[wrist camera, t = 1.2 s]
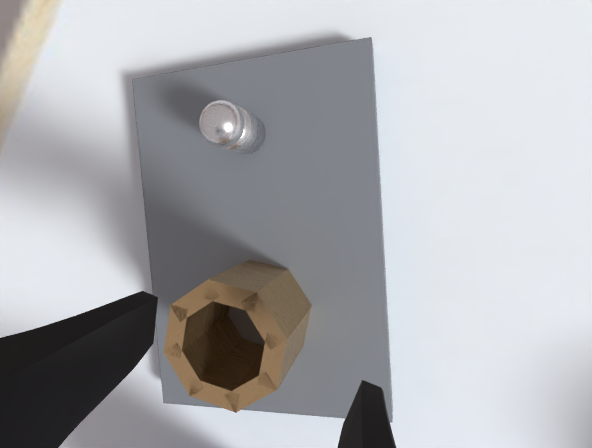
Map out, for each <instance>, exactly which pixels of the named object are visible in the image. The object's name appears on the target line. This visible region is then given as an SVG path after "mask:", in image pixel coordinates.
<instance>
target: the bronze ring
mask: <svg viewBox="0 0 592 448" xmlns="http://www.w3.org/2000/svg"><path fill="white" fill-rule="evenodd" d="M230 306H232V307H235V308H239V309H242V310H246V312H247V314H248V315H249V317H250V318H251V320H252V322H253V323H254V325H255V326H256V328H257V330H258V331H259V333H260V334H261V336H262V338H263V339H264V341H265V345H262V344H259V343H256V342H252V341H249V340H246V339H243V338H242V336H241V335H240V333H239V332H238V330H237V328H236V327H235V325H234V323H233V322H232V320H231V319H230V317H229V310H230ZM311 307H312V304H311V303H310V301H309V300H308V298H307V297H306V295H305V294H304V292H303V290H302V289H301V287H300V286H299V284H298V283H297V281H296V280H295V278H294V276H293V275H292V273H291V272H290V269H286V268H282V267H278V266H274V265H270V264H266V263H262V262H258V261H254V260H248V261H245V262H243V263H241V264H239V265H237V266H235V267H233V268H230V269H228V270H226V271H224V272H222V273H220V274H217V275H215V276H213V277H211V278H209V279H207V281H205V282H204V283H202V284H201V285H199V286H198V287H196V288H195V289H193V290H192V291H190V292H189V293H188V294H186V295H185V296H183V297H182V298H180V299H179V300H177V301H176V302H174V303H172V304H171V305H170V312H169V319H168V326H167V332H166V339H165V346H164V351H163V352H164V354H165V356H166V357H167V359H168V361H169V362H170V364H171V366H172V367H173V369H174V371H175V372H176V374H177V376H178V377H179V379H180V381H181V382H182V384H183V386H184V387H185V389H186V391H187V392H188V394H189V396H191V397H194V398H197V399H200V400H203V401H205V402H208V403H211V404H214V405H217V406H219V407H222V408H225V409H228V410H230V411H233V412H235V413H237V411H239V410H241V409H243V408H245V407H247V406H248V405H250V404H252V403H254V402H256V401H258V400H260V399H261V398H263V397H265V396H267V395H269V394H271V393H272V392H274V391H277V390H278V388H279V387H280V385H281V383H282V381H283V380H284V378H285V376H286V375H287V373H288V371H289V370H290V368H291V366H292V364H293V363H294V361H295V359H296V358H297V356H298V354H299V353H300V351H301V349H302V347H303V346H304V342H305V337H306V332H307V327H308V322H309V317H310V311H311Z"/></svg>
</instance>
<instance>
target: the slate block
mask: <svg viewBox="0 0 592 448" xmlns="http://www.w3.org/2000/svg"><path fill="white" fill-rule="evenodd" d="M132 82H133V92H134V102H135V113H136V123H137V133H138V144H139V154H140V165H141V175H142V185H143V196H144V206H145V216H146V227H147V237H148V247H149V258H150V268H151V279H152V289H153V295H154V296H156V297H158V304H157V313H156V330H157V341H158V351H159V361H160V372H161V382H162V392H163V403H170V404H182V405H193V406H205V407H217V408H222V407H219V406H217V405H214V404H211V403H208V402H205V401H203V400H200V399H197V398H194V397H191V396H189V394H188V392H187V391H186V389H185V387H184V386H183V384H182V382H181V381H180V379H179V377H178V376H177V374H176V372H175V371H174V369H173V367H172V366H171V364H170V362H169V361H168V359H167V357H166V356H165V354H164V352H163V351H164V346H165V339H166V332H167V326H168V319H169V312H170V305H171V304H172V303H174V302H176V301H177V300H179V299H180V298H182V297H183V296H185V295H186V294H188V293H189V292H190V291H192V290H193V289H195V288H196V287H198V286H199V285H201V284H202V283H204V282H205V281H207V279H209V278H211V277H213V276H215V275H217V274H220V273H222V272H224V271H226V270H228V269H230V268H233V267H235V266H237V265H239V264H241V263H243V262H245V261H248V260H254V261H258V262H262V263H266V264H270V265H274V266H278V267H282V268H286V269H290V272H291V273H292V275H293V276H294V278H295V280H296V281H297V283H298V284H299V286H300V287H301V289H302V290H303V292H304V294H305V295H306V297H307V298H308V300H309V301H310V303H311V304H312V307H311V311H310V317H309V322H308V327H307V332H306V337H305V342H304V346H303V347H302V349H301V351H300V353H299V354H298V356H297V358H296V359H295V361H294V363H293V364H292V366H291V368H290V370H289V371H288V373H287V375H286V376H285V378H284V380H283V381H282V383H281V385H280V387H279V388H278V390H277V391H274V392H272V393H271V394H269V395H267V396H265V397H263V398H261V399H260V400H258V401H256V402H254V403H252V404H250V405H248V406H247V407H245V408H243V409H241V410H253V411H264V412H276V413H288V414H300V415H312V416H324V417H335V418H346V417H347V414H348V412H349V410H350V407H351V405H352V402H353V400H354V398H355V395H356V393H357V391H358V388H359V386H360V384H361V381H362V380H364V381H367V382H369V383H372V384H374V385H377V386H379V387H381V388H382V390H383V392H384V398H385V403H386V408H387V413H388V418H389V422H392V388H391V370H390V352H389V333H388V315H387V296H386V278H385V260H384V241H383V223H382V204H381V186H380V168H379V149H378V131H377V112H376V94H375V76H374V57H373V45H372V38H371V37H369V38H363V39H358V40H352V41H346V42H341V43H335V44H329V45H324V46H318V47H312V48H307V49H301V50H296V51H290V52H284V53H279V54H273V55H267V56H262V57H256V58H250V59H245V60H239V61H233V62H228V63H222V64H216V65H211V66H205V67H199V68H194V69H188V70H182V71H177V72H171V73H165V74H160V75H154V76H148V77H143V78H137V79H132ZM218 100H226V101H229V102H232V103H234V104H235V105H237V106H239V107H241V108H243V109H244V110H246V111H248V112H250V113H252V114H253V115H255V116H257V117H258V118H260V119H261V121H262V122H263V124H264V126H265V131H266V136H265V140H264V143H263V145H262V146H261V147H260V149H258V150H257V151H256V152H254V153H251V154H242V153H238V152H235V151H231V150H227V149H223V148H219V147H216V146H213V145H212V144H210V143H209V142H207V141H206V140H205V138H204V137H203V135H202V133H201V131H200V127H199V119H200V115H201V113H202V111H203V109H204V108H205V107H206V106H207V105H208V104H210V103H211V102H214V101H218ZM229 317H230V319H231V320H232V322H233V323H234V325H235V327H236V328H237V330H238V332H239V333H240V335H241V336H242V338H243V339H246V340H249V341H252V342H256V343H259V344H262V345H265V341H264V339H263V338H262V336H261V334H260V333H259V331H258V330H257V328H256V326H255V325H254V323H253V322H252V320H251V318H250V317H249V315H248V314H247V312H246V310H242V309H239V308H235V307H232V306H230V310H229Z"/></svg>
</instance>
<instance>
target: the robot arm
mask: <svg viewBox="0 0 592 448" xmlns="http://www.w3.org/2000/svg"><path fill="white" fill-rule="evenodd" d="M157 304H158V297H156V296H154V295H151V294H149V293H146V292H144V291H141V292H138V293H136V294H133V295H130V296H127V297H125V298H122V299H119V300H117V301H114V302H112V303H109V304H106V305H104V306H101V307H98V308H96V309H93V310H90V311H87V312H85V313H82V314H79V315H76V316H73V317H70V318H67V319H64V320H61V321H58V322H55V323H52V324H49V325H46V326H43V327H40V328H36V329H33V330H29V331H26V332H22V333H18V334H14V335H10V336H6V337H2V338H0V448H58V447H59V446H60V445H61V444H62V443H63V441H64V440H65V439H66V438H67V437H68V435H69V434H70V433H71V432H72V431H73V430H74V429H75V428H76V427H77V426H78V425H79V424H80V422H81V421H82V420H83V419H84V418H85V417H86V416H87V415H88V414H89V413H90V412H91V411H92V410H93V409H94V408H95V407H96V406H97V405H98V404H99V403H100V402H101V401H102V400H103V399H104V398H105V397H106V396H107V395H108V394H109V393H110V392H111V391H112V390H113V389H114V388H115V387H116V386H117V385H118V384H119V383H120V382H121V381H122V380H123V379H124V378H125V377H126V376H127V375H128V374H129V373H130V372H131V371H132V370H133V369H134V367H135V366H136V365H137V364H138V362H139V361H140V360H141V359H142V357H143V356H144V355H145V353H146V352H147V351H148V349H149V348H150V347H151V345H152V344H153V340H154V331H155V322H156V313H157ZM338 448H396V445H395V442H394V438H393V434H392V430H391V426H390V422H389V418H388V413H387V408H386V403H385V398H384V392H383V390H382V388H381V387H379V386H377V385H374V384H372V383H369V382H367V381H364V380H362V381H361V384H360V386H359V388H358V391H357V393H356V395H355V398H354V400H353V402H352V405H351V407H350V410H349V412H348V414H347V417H346V419H345V421H344V424H343V427H342V431H341V435H340V440H339V444H338Z"/></svg>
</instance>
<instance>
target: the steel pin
mask: <svg viewBox="0 0 592 448" xmlns="http://www.w3.org/2000/svg"><path fill="white" fill-rule="evenodd" d="M199 127H200V131H201V133H202V135H203V137H204V138H205V140H206V141H207V142H209V143H210V144H212V145H213V146H216V147H219V148H223V149H227V150H231V151H235V152H238V153H242V154H251V153H254V152H256V151H257V150H258V149H260V147H261V146H262V145H263V143H264V140H265V136H266V131H265V126H264V124H263V122H262V121H261V119H260V118H258V117H257V116H255V115H253V114H252V113H250V112H248V111H246V110H244V109H243V108H241V107H239V106H237V105H235V104H234V103H232V102H229V101H226V100H218V101H214V102H211V103H210V104H208V105H207V106H206V107H205V108H204V109H203V111H202V113H201V115H200V119H199Z"/></svg>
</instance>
